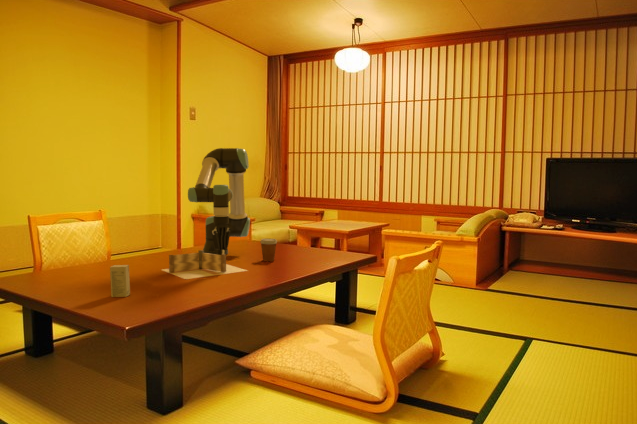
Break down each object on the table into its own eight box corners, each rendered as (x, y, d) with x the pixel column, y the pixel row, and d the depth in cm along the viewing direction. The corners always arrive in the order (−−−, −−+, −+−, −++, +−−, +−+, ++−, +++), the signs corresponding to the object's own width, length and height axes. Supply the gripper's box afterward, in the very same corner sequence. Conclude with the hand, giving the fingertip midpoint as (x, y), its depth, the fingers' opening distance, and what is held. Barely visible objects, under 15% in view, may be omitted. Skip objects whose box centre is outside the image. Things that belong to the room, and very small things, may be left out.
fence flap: (201, 268, 254) (201, 251, 253) (204, 268, 255) (204, 251, 254) (223, 272, 245) (223, 254, 245) (226, 271, 247) (226, 254, 246)
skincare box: (130, 294, 202) (129, 264, 201) (126, 297, 198) (126, 266, 197) (114, 294, 202) (113, 264, 201) (110, 297, 198) (109, 266, 197)
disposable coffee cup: (276, 262, 279) (276, 240, 279) (259, 261, 280) (259, 240, 279) (277, 259, 289) (277, 238, 288) (261, 258, 289) (261, 238, 288)
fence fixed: (202, 268, 257) (201, 250, 256) (204, 269, 255) (204, 250, 254) (169, 272, 245) (168, 253, 245) (171, 273, 244) (170, 254, 243)
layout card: (160, 270, 252) (160, 269, 252) (220, 263, 274) (220, 262, 274) (185, 280, 230) (185, 279, 230) (248, 271, 252) (248, 270, 252)
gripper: (223, 214, 256) (224, 259, 258) (206, 216, 245) (207, 263, 247) (235, 215, 252) (235, 261, 254) (218, 217, 241) (218, 265, 243)
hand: (221, 262), depth 251 cm, fingers closed
